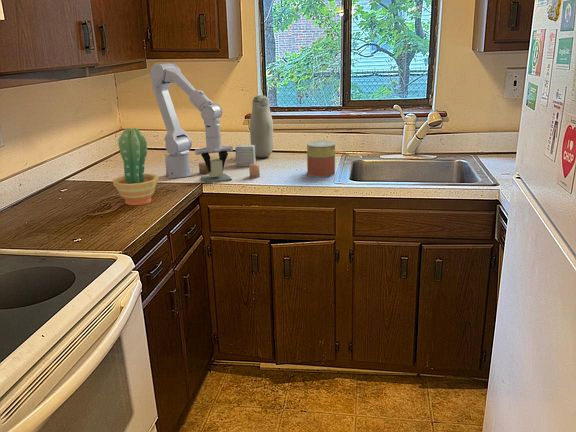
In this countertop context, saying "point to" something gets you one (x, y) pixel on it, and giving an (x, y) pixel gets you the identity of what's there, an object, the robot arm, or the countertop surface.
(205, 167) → the walnut cube
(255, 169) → the terracotta capsule
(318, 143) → the canned food
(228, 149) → the robot arm
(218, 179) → the slate mat
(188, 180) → the countertop surface
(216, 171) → the sage green block
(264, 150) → the grey-green bottle
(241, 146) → the medicine box
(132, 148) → the potted cactus
